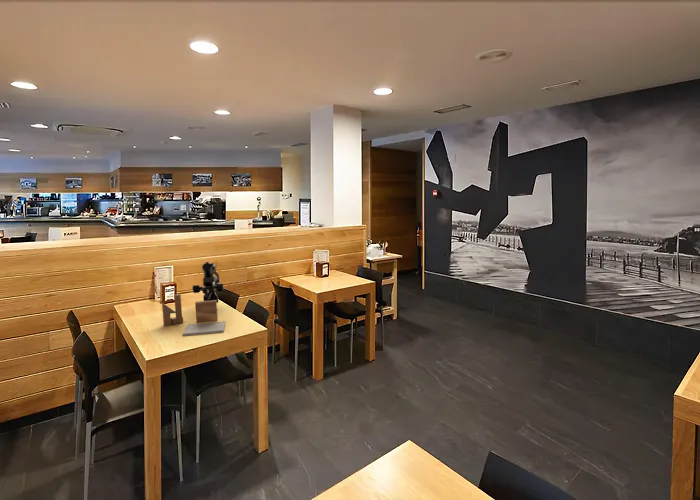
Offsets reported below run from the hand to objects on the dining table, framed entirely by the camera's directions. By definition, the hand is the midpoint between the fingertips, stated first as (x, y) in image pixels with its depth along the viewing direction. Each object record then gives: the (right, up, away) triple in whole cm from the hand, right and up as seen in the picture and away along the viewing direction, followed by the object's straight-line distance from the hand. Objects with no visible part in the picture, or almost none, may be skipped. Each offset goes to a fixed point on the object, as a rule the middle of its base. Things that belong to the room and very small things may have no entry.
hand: (207, 299), depth 255 cm
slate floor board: (+5, -15, -20) cm, 25 cm away
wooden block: (-18, -14, -9) cm, 25 cm away
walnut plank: (+3, -14, -9) cm, 17 cm away
